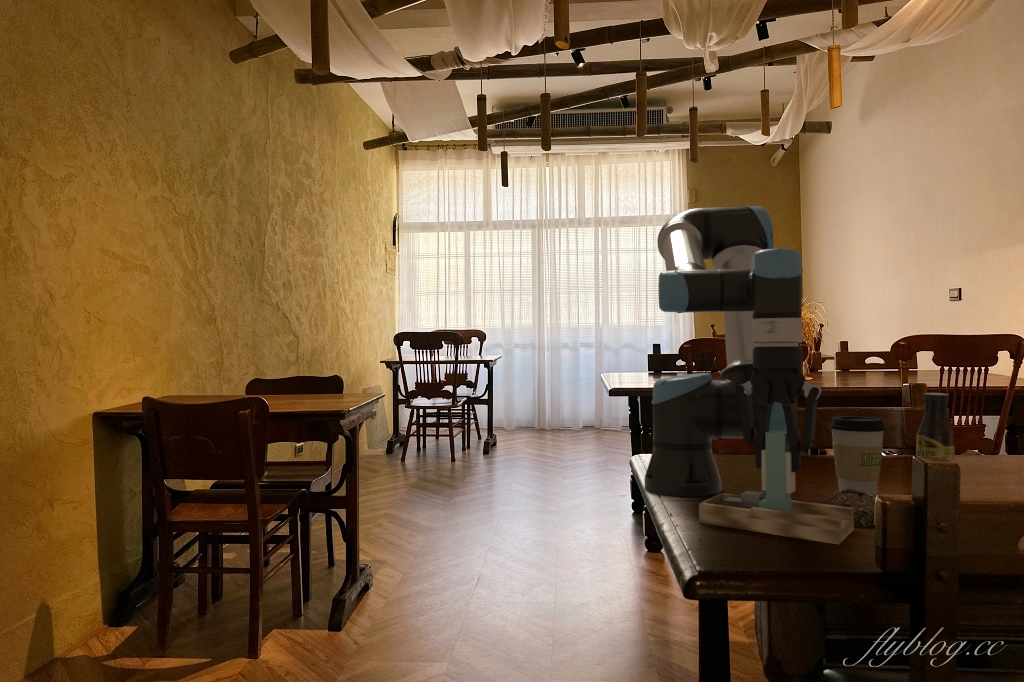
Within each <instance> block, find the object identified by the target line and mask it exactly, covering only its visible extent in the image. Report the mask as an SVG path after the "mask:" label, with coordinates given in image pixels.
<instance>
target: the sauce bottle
mask: <svg viewBox="0 0 1024 682" xmlns="http://www.w3.org/2000/svg"><path fill="white" fill-rule="evenodd" d="M923 401H924V413H923V415H924V416H923V418H922V419H921V423H920V425H919V428H918V430H917V433H916V439H915V441H916V443H915V444H916V447H915V457H916V456H944V457H948V458H949V459H950V460H952V461H954V462H955V448H956V447H955V430H954V428H953V426H952V424H951V423H950V421H949V418H948V417H949V414H948V407H949V406H948V405H949V404H948V403H949V401H950V395H949V394H948V393H944V392H943V393H942V392H925V393H924V395H923Z"/></svg>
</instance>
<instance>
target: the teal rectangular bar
mask: <svg viewBox="0 0 1024 682" xmlns="http://www.w3.org/2000/svg"><path fill="white" fill-rule="evenodd" d="M765 442H766V491H765V497H764V498H763V499H761V500H759V508H766V509H773V510H781V511H788V512H792V500H793V499H792V493H791V494H789V493H786V476H785V452H787V451H789V449H790V445H789V439H788V433H787V431H769V432H766V433H765Z"/></svg>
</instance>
